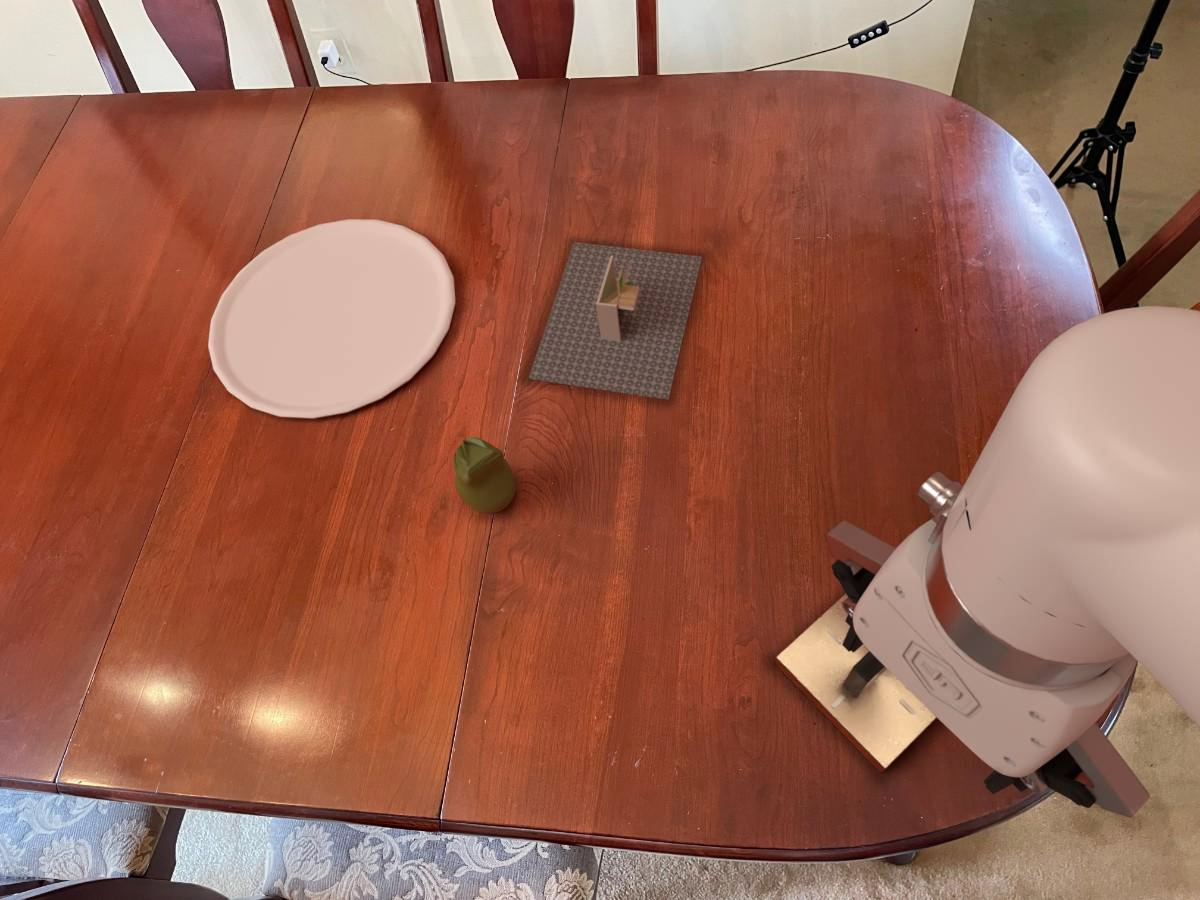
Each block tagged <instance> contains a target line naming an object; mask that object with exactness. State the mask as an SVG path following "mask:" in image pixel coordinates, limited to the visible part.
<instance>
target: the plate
mask: <svg viewBox="0 0 1200 900" xmlns="http://www.w3.org/2000/svg"><path fill="white" fill-rule="evenodd" d="M455 288H456V287H455V277H454V274H453V273H452V270H451V269H450V266H449V264H448V262H447V259H446V257H445V255H444V254H443V253H442V252H441V251H440V250H439V249H438V248H437V247H436V246H435V245H434V244H433V243H432V241H430V240H429V239H428V238H427V237H426V236H424V235H422V234H420V233H418V232H416V231H415V230H412V229H410V228H409V227H407V226H405V225H401V224H398V223H394V222H389V221H386V220H381V219H366V218H365V219H364V218H362V219H359V218H347V219H342V220H336V221H331V222H325V223H324V222H323V223H319V224H316V225H314V226H311V227H308V228H306V229H302V230H299V231H297V232H294V233H292V234H289V235H288V236H286V237H284V238H282V239H281V240H278V241H277V242H276V243H274V244H272V245H270V246H269V247H267V248H266V249H264V250H262V251H261V252H260V253H259V254H257V256H255V257H254V258H252V260H250V262H248V263H247V264H246V265H245V266H243V268H241V270H239V271H238V272H237V274H236V275H235V277H233V279H232V280H231V282H230V283H229V285H228V286H227V287H226V289H224V291H223V292H222V294H221V295H220V297H219V300H218V303H217V305H216V308H215V310H214V312H213V315H212V317H211V319H210V326H209V335H208V343H207V348H208V352H209V356H210V361H211V365H212V369H213V371H214V373H215V374H216V376H217V377H218V379H219V380H220V382H221V383H222V385H223V386H224V388H225V389H226V390H227V392H228V393H230V394H231V395H232V396H233V397H235V398H237V399H238V400H239V401H241V402H242V403H244V404H245V405H247V406H248V407H249V408H251V409H254V410H256V411H260V412H263V413H266V414H268V415H273V416H274V417H275V416H276V417H278V418H291V419H309V420H311V419H312V420H314V419H319V418H324V417H331V416H337V415H341V414H347V413H351V412H352V411H355V410H358V409H361V408H362V407H365V406H367V405H371V404H373V403H375V402H378V401H380V400H382V399H384V398H385V397H387V396H388V395H390V394H391V393H392V392H394V391H395V390H397V389H398V388H399V389H400V387H402V386H403V385H405V384H406V383H408V382H409V381H411V380H412V379H413V378H414V377H415V376H416V374H418V372H420V370H422V368H424V366H425V365H426V364H428V362H429V361H430V360H431V359H432V358H433V357H434V356H435V354H436V353H437V351H438V349H439V347H440V346H441V344H442V343H443V341H444V339H445V337H446V336H447V333H448V332H449V330H450V326H451V322H452V319H453V314H454V312H455V307H456V292H455V291H456V289H455Z"/></svg>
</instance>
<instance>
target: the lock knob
mask: <svg viewBox="0 0 1200 900" xmlns="http://www.w3.org/2000/svg"><path fill="white" fill-rule="evenodd" d="M886 670H887V668H886V667H885V666H884V665H883V664H882V663H881V662H880V661H879V660H878V659H877V658H876V657H875V656H874V655H873V654H872V653H871V652H870V651H869V652H868V653H867V654H866V655H865V656H864V657H863V658H862V659H861V660H859V661H858V662H857V663H856V664H855V665H854V666H853V667H852V669H851V671H850V672H849V674H848V676H847V677H846V679H845V681H844V682H843V684H844V685H845V686H846V687H847V688H848V689H849V690H850V691H851V692H852V693H853V694H854V695H855V696H856V697H857V698H858V697H859V696H860V695H861V694H862V693H863V692H864V691H865V690H866V689H867V688H868V687H869V686H870V685H871V684H872V683H873V682H874V681H875V680H876V679H877V678H878V677H879V676H880V675H881V674H882V673H883V672H884V671H886Z"/></svg>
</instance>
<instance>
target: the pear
mask: <svg viewBox="0 0 1200 900" xmlns="http://www.w3.org/2000/svg"><path fill="white" fill-rule="evenodd" d="M453 467H454V468H453V469H454V472H455V476H454V483H455V484H454V485H455V488H456V491H457V493H458V495H459V497H460V498H461V499H462V501H463V502H464V503H465V504H466V505H467V506H468V507H469V508H470V509H472V510H473V511H475V512H477V513H479V514H483V515H493V514H497V513H499V512H502V511H503V510H505V509H506V508H507V507H508V506H509V505H510V504H511V503H512V501H513V500H514V498H515V495H516V492H517V491H516V490H517V482H516V477H515V474H514V471H513V469H512V467H511V466H510V464H509V462H508V461H507V460H506V458H505V454H504V452H503V451H502V450H501V449H500V448H497V447H495V446H494V444H492V443H491V442H489V441H486V440H485V439H481V438H480V437H479V436H470V437H467V438H466V439H463V440H462V443H461V444H460V445H459V446H458V447H457V448H456V449H455V452H454V456H453Z"/></svg>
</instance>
